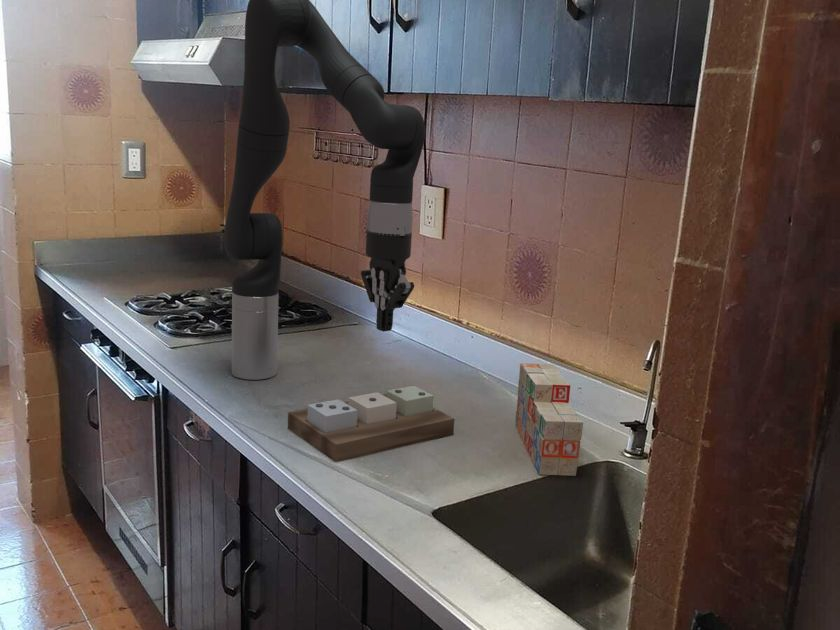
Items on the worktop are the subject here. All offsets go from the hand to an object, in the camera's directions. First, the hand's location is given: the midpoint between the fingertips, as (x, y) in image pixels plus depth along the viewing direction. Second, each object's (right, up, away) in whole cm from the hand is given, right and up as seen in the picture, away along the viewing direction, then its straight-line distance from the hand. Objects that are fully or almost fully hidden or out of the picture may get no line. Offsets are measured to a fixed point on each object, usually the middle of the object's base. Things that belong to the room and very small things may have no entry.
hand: (384, 330), depth 138 cm
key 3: (-9, -16, -2) cm, 18 cm away
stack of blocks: (+27, -21, +1) cm, 34 cm away
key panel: (-2, -18, +3) cm, 18 cm away
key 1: (-2, -15, +3) cm, 16 cm away
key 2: (+4, -14, +7) cm, 17 cm away
